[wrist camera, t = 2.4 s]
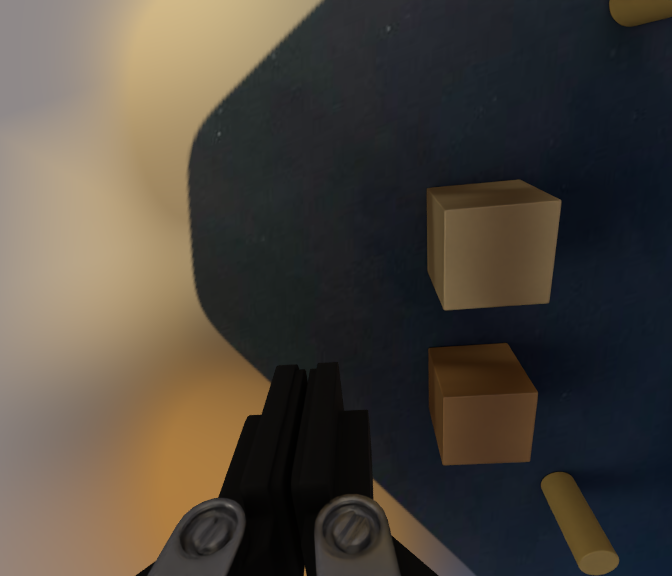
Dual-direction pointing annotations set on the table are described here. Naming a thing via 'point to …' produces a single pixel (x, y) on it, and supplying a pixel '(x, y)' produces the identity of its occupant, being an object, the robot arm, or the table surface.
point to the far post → (579, 525)
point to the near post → (639, 11)
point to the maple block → (491, 244)
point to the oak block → (481, 404)
